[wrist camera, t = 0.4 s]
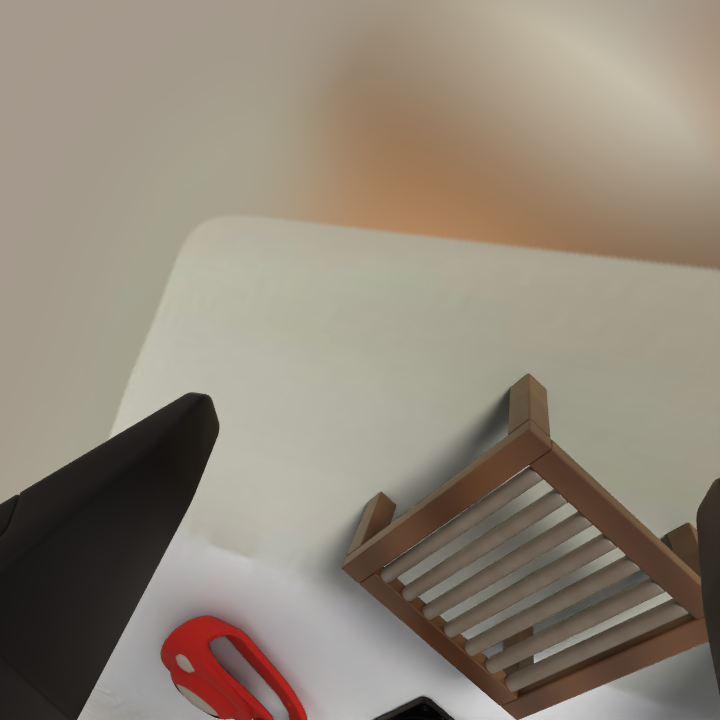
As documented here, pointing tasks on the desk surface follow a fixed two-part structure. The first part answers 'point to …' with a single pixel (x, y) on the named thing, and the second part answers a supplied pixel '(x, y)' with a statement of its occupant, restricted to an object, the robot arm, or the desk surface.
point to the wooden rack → (595, 507)
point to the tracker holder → (221, 672)
